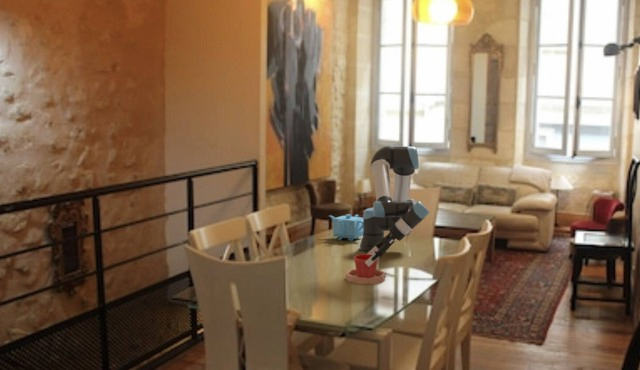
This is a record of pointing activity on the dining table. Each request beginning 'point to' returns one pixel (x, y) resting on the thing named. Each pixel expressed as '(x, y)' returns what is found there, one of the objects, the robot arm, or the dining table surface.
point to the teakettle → (347, 227)
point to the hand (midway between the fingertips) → (367, 260)
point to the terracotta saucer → (353, 278)
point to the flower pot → (364, 266)
